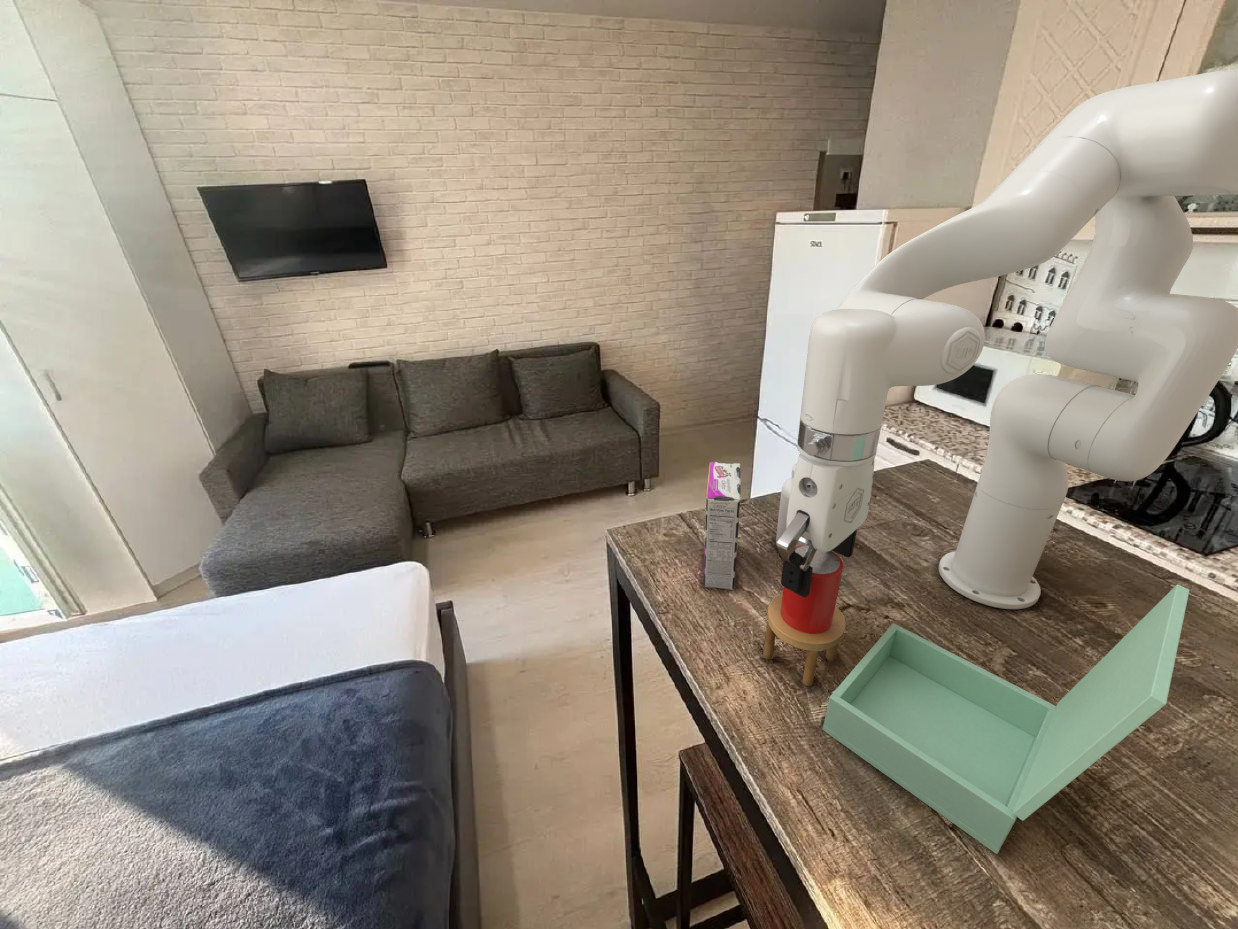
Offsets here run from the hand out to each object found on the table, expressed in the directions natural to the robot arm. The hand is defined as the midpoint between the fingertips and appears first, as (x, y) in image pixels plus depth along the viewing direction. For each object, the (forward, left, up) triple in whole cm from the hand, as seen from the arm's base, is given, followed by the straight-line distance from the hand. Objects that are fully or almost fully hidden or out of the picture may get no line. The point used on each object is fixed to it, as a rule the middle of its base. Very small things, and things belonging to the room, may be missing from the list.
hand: (817, 570), depth 59 cm
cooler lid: (0, +25, +1) cm, 25 cm away
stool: (+1, 0, -14) cm, 14 cm away
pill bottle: (-20, -13, -14) cm, 28 cm away
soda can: (+1, 0, -7) cm, 7 cm away
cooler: (0, +15, -14) cm, 21 cm away
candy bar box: (-6, -19, -14) cm, 24 cm away
